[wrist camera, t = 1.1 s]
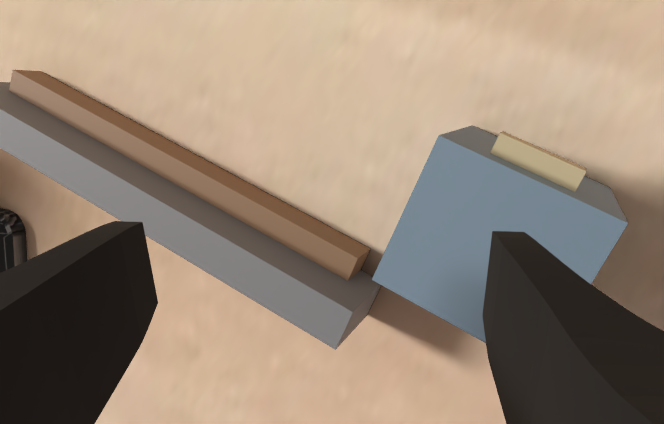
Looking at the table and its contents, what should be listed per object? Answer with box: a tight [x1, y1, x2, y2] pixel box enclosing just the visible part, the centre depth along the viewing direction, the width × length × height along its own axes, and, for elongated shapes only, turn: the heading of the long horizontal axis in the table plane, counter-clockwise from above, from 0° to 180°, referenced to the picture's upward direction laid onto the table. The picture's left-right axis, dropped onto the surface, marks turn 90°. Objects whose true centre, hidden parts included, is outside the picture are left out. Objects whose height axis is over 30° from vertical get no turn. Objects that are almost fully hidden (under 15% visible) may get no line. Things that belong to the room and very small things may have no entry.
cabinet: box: [372, 126, 628, 343], centre depth 18 cm, size 5×5×6 cm
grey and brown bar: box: [0, 70, 381, 350], centre depth 24 cm, size 20×3×4 cm, turn 67°
